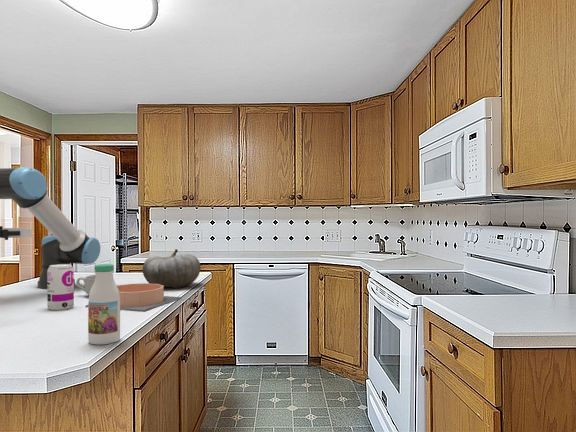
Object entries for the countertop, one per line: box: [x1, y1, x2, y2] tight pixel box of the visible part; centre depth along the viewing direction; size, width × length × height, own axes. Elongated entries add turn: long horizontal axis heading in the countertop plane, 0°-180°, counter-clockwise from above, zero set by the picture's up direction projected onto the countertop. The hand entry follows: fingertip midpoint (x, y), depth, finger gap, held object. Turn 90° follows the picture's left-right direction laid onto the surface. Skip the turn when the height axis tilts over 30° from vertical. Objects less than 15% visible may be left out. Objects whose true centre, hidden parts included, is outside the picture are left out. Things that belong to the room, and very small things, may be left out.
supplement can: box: [46, 263, 75, 311], centre depth 158 cm, size 8×8×15 cm
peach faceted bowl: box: [85, 282, 182, 313], centre depth 168 cm, size 24×24×6 cm
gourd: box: [142, 248, 202, 289], centre depth 204 cm, size 25×25×17 cm
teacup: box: [75, 274, 96, 296], centre depth 182 cm, size 14×11×8 cm
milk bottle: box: [87, 263, 121, 346], centre depth 118 cm, size 8×8×20 cm
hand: (28, 232), depth 152 cm, fingers open, 13 cm apart
